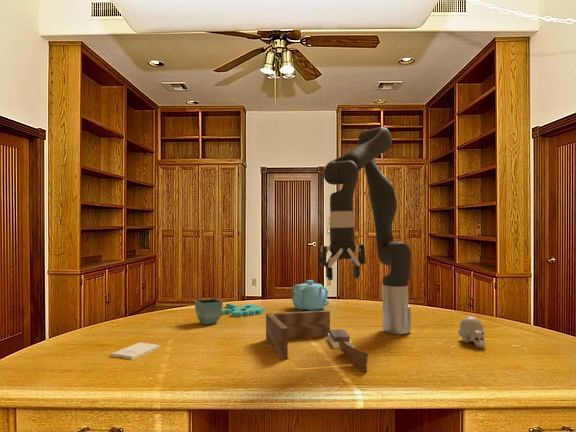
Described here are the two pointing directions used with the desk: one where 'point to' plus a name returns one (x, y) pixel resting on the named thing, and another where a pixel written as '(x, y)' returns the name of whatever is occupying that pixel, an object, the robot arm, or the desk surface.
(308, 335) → the walnut rack
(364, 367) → the wood plank
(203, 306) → the flower pot
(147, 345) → the external hard drive
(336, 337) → the grey rectangular block
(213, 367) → the desk surface
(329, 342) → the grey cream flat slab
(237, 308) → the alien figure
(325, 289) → the decorative pot
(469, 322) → the grey animal figurine
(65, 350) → the desk surface
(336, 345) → the white offcut
